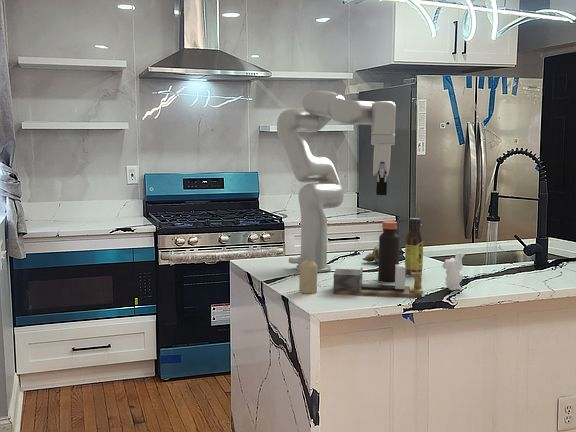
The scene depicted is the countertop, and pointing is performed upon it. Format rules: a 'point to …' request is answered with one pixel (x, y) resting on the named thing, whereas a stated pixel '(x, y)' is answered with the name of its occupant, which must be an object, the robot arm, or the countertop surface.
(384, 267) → the vinegar
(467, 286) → the countertop surface
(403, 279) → the grey block
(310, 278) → the candle
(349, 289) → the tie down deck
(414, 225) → the sauce bottle
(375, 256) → the ceramic sculpture
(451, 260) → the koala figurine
